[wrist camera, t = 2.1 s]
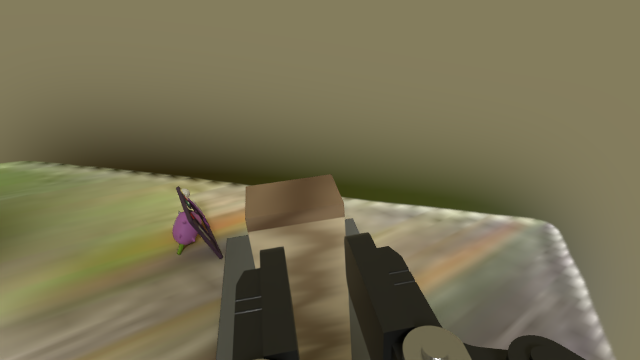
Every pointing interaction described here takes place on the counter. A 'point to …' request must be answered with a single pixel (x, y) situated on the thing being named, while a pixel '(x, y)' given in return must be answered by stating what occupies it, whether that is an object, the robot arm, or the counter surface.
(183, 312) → the counter surface
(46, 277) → the counter surface
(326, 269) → the beech block
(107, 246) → the counter surface
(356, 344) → the rubber mat
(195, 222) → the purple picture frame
